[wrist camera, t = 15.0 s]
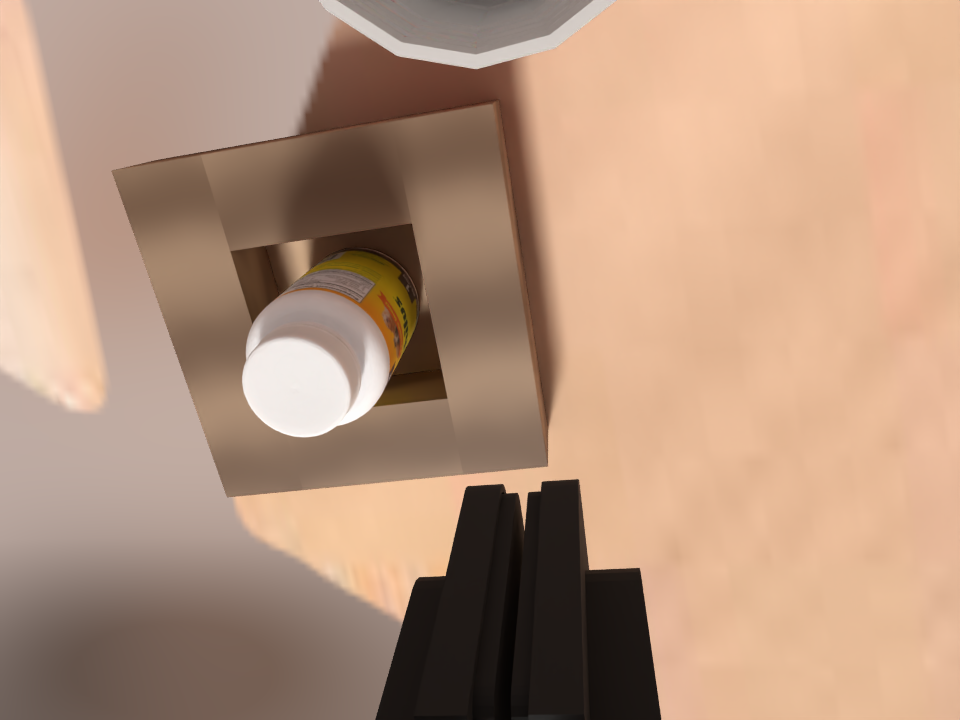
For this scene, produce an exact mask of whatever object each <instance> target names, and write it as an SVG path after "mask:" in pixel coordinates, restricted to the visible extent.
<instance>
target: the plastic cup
mask: <svg viewBox="0 0 960 720" xmlns="http://www.w3.org/2000/svg"><path fill="white" fill-rule="evenodd" d="M615 1H616V0H319V2H320V3H321V5H322V6H323V7H324V8H325V10H326V11H328V12H329V13H331V14H333V15H334V16H336V17H337V18H339V19H340V20H342V21H343V22H345V23H347V24H348V25H350V26H351V27H353V28H354V29H356V30H357V31H359V32H360V33H362V34H364V35H365V36H367V37H368V38H370V39H371V40H373V41H374V42H376V43H378V44H379V45H381V46H382V47H384V48H385V49H387V50H388V51H390V52H392V53H393V54H395V55H396V56H399V57H406V58H412V59H418V60H424V61H430V62H436V63H442V64H448V65H454V66H460V67H466V68H472V69H479V68H483V67H487V66H491V65H494V64H498V63H502V62H506V61H509V60H513V59H517V58H521V57H524V56H528V55H532V54H536V53H539V52H543V51H547V50H551V49H554V48H556V47H557V46H559V45H560V44H561V43H563V42H564V41H565V40H566V39H568V38H569V37H570V36H572V35H573V34H574V33H575V32H577V31H578V30H579V29H581V28H582V27H583V26H584V25H586V24H587V23H588V22H589V21H591V20H592V19H593V18H595V17H596V16H597V15H598V14H600V13H601V12H602V11H604V10H605V9H606V8H607V7H609V6H610V5H611V4H613V3H614V2H615Z"/></svg>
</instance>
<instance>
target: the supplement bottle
mask: <svg viewBox="0 0 960 720" xmlns="http://www.w3.org/2000/svg"><path fill="white" fill-rule="evenodd" d="M418 317H419V300H418V295H417V291H416V288H415V286H414V283H413V281H412V280H411V278H410V276H409V275H408V273H407V272H406V271H405V269H404V268H403V267H402V266H401V265H400V264H399V263H397V262H396V261H395V260H393V259H392V258H391V257H389V256H387V255H385V254H383V253H381V252H378V251H376V250H372V249H367V248H348V249H343V250H340V251H337V252H335V253H333V254H331V255H329V256H327V257H326V258H324V259H323V260H322V261H321V262H319V263H318V264H317V265H316V266H314V267H313V268H312V269H311V270H309V271H308V272H307V273H306V274H305V275H303V276H302V277H301V278H300V279H299V280H297V281H296V282H295V283H294V284H292V285H291V286H290V287H289V288H288V289H287V290H286V291H284V292H283V293H282V294H281V295H280V296H278V297H277V298H276V299H275V300H274V301H272V302H271V303H270V304H269V305H268V306H266V307H265V309H264V310H263V311H262V312H261V313H260V314H259V315H258V317H257V318H256V319H255V321H254V323H253V325H252V327H251V329H250V332H249V334H248V338H247V344H246V362H245V365H244V369H243V374H242V385H243V391H244V394H245V397H246V399H247V402H248V404H249V406H250V407H251V409H252V410H253V411H254V413H255V414H256V415H257V416H258V417H259V418H260V419H261V420H262V421H263V422H264V423H265V424H267V425H268V426H269V427H271V428H273V429H274V430H276V431H279V432H281V433H283V434H287V435H290V436H295V437H313V436H318V435H321V434H324V433H326V432H328V431H330V430H332V429H333V428H335V427H336V426H339V425H343V424H347V423H349V422H352V421H354V420H356V419H358V418H359V417H361V416H363V415H364V414H365V413H367V412H368V411H369V410H370V409H371V408H372V407H373V406H374V405H375V403H376V402H377V401H378V399H379V398H380V396H381V395H382V393H383V391H384V390H385V388H386V386H387V383H388V382H389V380H390V378H391V376H392V374H393V372H394V370H395V368H396V366H397V364H398V362H399V360H400V358H401V356H402V354H403V352H404V350H405V348H406V346H407V344H408V343H409V341H410V339H411V337H412V334H413V332H414V330H415V328H416V325H417V321H418Z"/></svg>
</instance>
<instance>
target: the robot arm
mask: <svg viewBox="0 0 960 720" xmlns="http://www.w3.org/2000/svg"><path fill="white" fill-rule="evenodd" d="M376 720H661V714H660V707H659V700H658V693H657V686H656V679H655V671H654V664H653V657H652V650H651V643H650V636H649V629H648V622H647V614H646V607H645V600H644V593H643V586H642V579H641V572H640V568H630V569H606V570H589V565H588V556H587V547H586V538H585V529H584V520H583V511H582V502H581V493H580V485H579V479H576V480H560V481H544V482H542V485H541V492H529V493H528V500H527V511H526V523H525V531H524V525H523V518H522V512H521V505H520V499H519V495H518V493H509V494H506V490H505V487H504V485H503V484H497V485H481V486H468V487H466V490H465V493H464V498H463V502H462V507H461V511H460V515H459V520H458V524H457V528H456V533H455V537H454V542H453V546H452V550H451V555H450V559H449V563H448V568H447V572H446V576H440V577H419V578H418V579H417V580H416V582H415V584H414V587H413V589H412V593H411V596H410V600H409V603H408V607H407V610H406V614H405V617H404V621H403V624H402V628H401V632H400V635H399V639H398V642H397V646H396V649H395V653H394V656H393V660H392V664H391V667H390V670H389V674H388V677H387V681H386V684H385V688H384V691H383V695H382V698H381V702H380V705H379V709H378V712H377V716H376Z"/></svg>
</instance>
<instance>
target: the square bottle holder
mask: <svg viewBox="0 0 960 720" xmlns="http://www.w3.org/2000/svg"><path fill="white" fill-rule="evenodd" d="M112 173H113V176H114V179H115V182H116V185H117V187H118V190H119V193H120V196H121V199H122V202H123V205H124V207H125V210H126V213H127V216H128V219H129V221H130V224H131V227H132V230H133V233H134V235H135V238H136V241H137V244H138V247H139V250H140V252H141V255H142V258H143V261H144V264H145V267H146V269H147V272H148V275H149V278H150V281H151V284H152V286H153V289H154V292H155V295H156V298H157V300H158V303H159V306H160V309H161V312H162V315H163V318H164V320H165V323H166V326H167V329H168V332H169V335H170V337H171V340H172V343H173V346H174V349H175V351H176V354H177V357H178V360H179V363H180V366H181V368H182V371H183V374H184V377H185V380H186V383H187V385H188V388H189V391H190V394H191V396H192V399H193V402H194V405H195V408H196V411H197V413H198V416H199V419H200V422H201V425H202V428H203V431H204V433H205V436H206V439H207V442H208V444H209V448H210V450H211V453H212V456H213V459H214V462H215V464H216V467H217V470H218V473H219V475H220V479H221V481H222V484H223V487H224V490H225V493H226V496H227V497H236V496H246V495H256V494H267V493H277V492H288V491H298V490H308V489H319V488H329V487H339V486H350V485H360V484H371V483H381V482H391V481H402V480H412V479H422V478H433V477H443V476H454V475H464V474H474V473H485V472H495V471H505V470H516V469H526V468H536V467H547V466H548V426H547V420H546V413H545V406H544V399H543V393H542V386H541V379H540V373H539V366H538V359H537V352H536V346H535V339H534V332H533V326H532V319H531V312H530V305H529V299H528V292H527V285H526V279H525V272H524V265H523V258H522V252H521V245H520V238H519V232H518V225H517V218H516V211H515V205H514V198H513V191H512V185H511V178H510V171H509V164H508V158H507V151H506V144H505V138H504V131H503V124H502V117H501V111H500V104H499V100H494V101H489V102H483V103H477V104H472V105H466V106H460V107H455V108H449V109H443V110H438V111H432V112H426V113H421V114H415V115H409V116H404V117H398V118H392V119H387V120H381V121H375V122H370V123H364V124H358V125H353V126H347V127H341V128H336V129H330V130H324V131H319V132H313V133H307V134H302V135H296V136H290V137H285V138H279V139H274V140H268V141H262V142H257V143H251V144H245V145H240V146H234V147H228V148H223V149H217V150H211V151H206V152H200V153H194V154H189V155H183V156H177V157H172V158H166V159H161V160H155V161H151V162H147V163H142V164H138V165H134V166H130V167H126V168H122V169H117V170H113V171H112ZM411 223H412V227H413V231H414V236H415V241H416V246H417V251H418V256H419V261H420V266H421V271H422V275H423V280H424V285H425V290H426V295H427V300H428V305H429V310H430V314H431V319H432V324H433V329H434V334H435V339H436V344H437V349H438V354H439V358H440V363H441V368H442V370H436V371H427V372H419V373H411V374H402V375H394V376H391V378H390V380H389V382H388V383H387V386H386V388H385V390H384V391H383V393H382V395H381V396H380V398H379V399H378V401H377V402H376V403H375V405H374V406H373V407H372V408H371V409H370V410H369V411H368V412H367V413H365V414H364V415H363V416H361V417H359V418H358V419H356V420H354V421H352V422H349V423H347V424H343V425H339V426H336V427H335V428H333V429H332V430H330V431H328V432H326V433H324V434H321V435H318V436H313V437H295V436H290V435H287V434H283V433H281V432H279V431H276V430H274V429H273V428H271V427H269V426H268V425H267V424H265V423H264V422H263V421H262V420H261V419H260V418H259V417H258V416H257V415H256V414H255V413H254V411H253V410H252V409H251V407H250V406H249V404H248V402H247V399H246V397H245V394H244V391H243V385H242V374H243V369H244V365H245V362H246V344H247V338H248V334H249V332H250V329H251V327H252V325H253V323H254V321H255V319H256V318H257V317H258V315H259V314H260V313H261V312H262V311H263V310H264V309H265V307H266V306H268V305H269V304H270V303H271V302H272V301H274V300H275V299H276V298H277V297H278V296H279V293H278V290H277V286H276V283H275V279H274V276H273V272H272V269H271V265H270V262H269V258H268V255H267V251H266V248H265V246H267V245H274V244H280V243H287V242H293V241H300V240H306V239H313V238H319V237H326V236H332V235H339V234H345V233H352V232H359V231H365V230H372V229H378V228H385V227H391V226H398V225H404V224H411Z"/></svg>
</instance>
